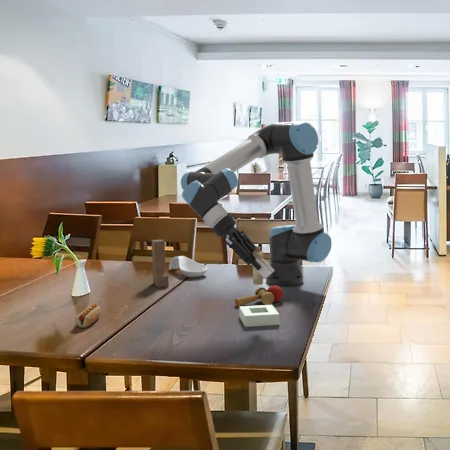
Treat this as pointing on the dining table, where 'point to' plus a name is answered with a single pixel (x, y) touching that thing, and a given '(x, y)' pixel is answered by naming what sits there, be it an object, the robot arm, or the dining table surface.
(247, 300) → the kendama
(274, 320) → the peg hole block
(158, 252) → the wooden block
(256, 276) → the beige bottle
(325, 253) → the robot arm
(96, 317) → the food
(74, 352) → the dining table surface
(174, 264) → the spoon rest
